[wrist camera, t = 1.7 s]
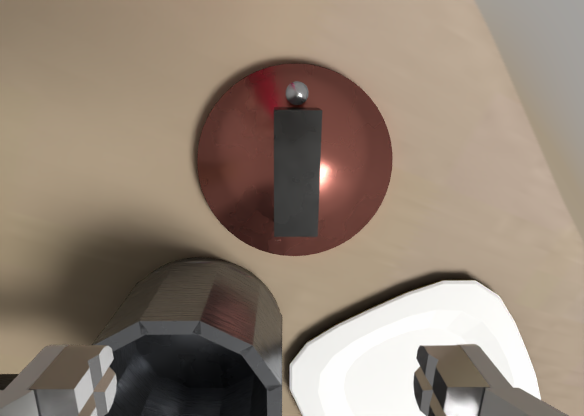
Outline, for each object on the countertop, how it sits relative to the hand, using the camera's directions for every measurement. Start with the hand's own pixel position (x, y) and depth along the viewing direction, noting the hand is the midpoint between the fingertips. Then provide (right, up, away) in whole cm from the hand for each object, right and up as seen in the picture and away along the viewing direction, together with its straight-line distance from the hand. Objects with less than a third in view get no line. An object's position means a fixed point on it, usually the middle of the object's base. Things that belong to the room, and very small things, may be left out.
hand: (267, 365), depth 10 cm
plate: (+13, -13, +27) cm, 33 cm away
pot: (-11, -7, +24) cm, 27 cm away
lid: (+1, +8, +20) cm, 21 cm away
